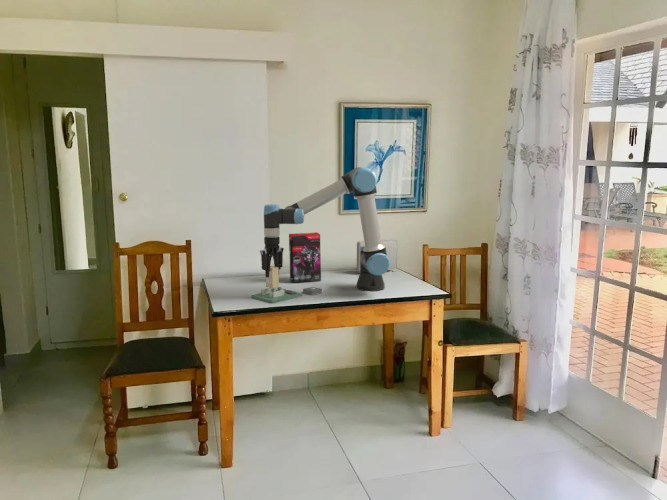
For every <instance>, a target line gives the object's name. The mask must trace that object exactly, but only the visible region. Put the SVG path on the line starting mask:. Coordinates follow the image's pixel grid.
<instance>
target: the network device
mask: <svg viewBox="0 0 667 500" xmlns="http://www.w3.org/2000/svg"><path fill="white" fill-rule="evenodd" d="M381 241H382V244H383V245H385V247H386V253H387V256H388V258H389V260H390V267H389V269H388V271H387V272H386V273H387V274H392V273H393V271H392V270H396V269H397V267H398V266H397V264H398V240H397V239H395V238H387V239H384V238H383V239H381ZM356 242H357V243H356V271H358V272H360V248H361V246H365V242H364V240H359V241H356ZM383 275H386V274H385V273H384V274H383Z"/></svg>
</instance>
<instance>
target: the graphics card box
mask: <svg viewBox="0 0 667 500" xmlns="http://www.w3.org/2000/svg"><path fill="white" fill-rule="evenodd" d="M288 248H289V249H288V250H289V280H290V282H291V283H292V284H293V283H294V284H296V283H305V282H319V281H320V282H321V281H322V267H321V266H322V265H321V264H322V262H321V234H320V233H319V232H317V231H316V232H315V231H314V232H299V233H295V232H294V233H288Z"/></svg>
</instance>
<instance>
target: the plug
mask: <svg viewBox="0 0 667 500" xmlns="http://www.w3.org/2000/svg"><path fill="white" fill-rule="evenodd" d="M270 271H271V284H268V283H266V282H265V288H276V289H278V287H280V285H279V282H280V277H279V276H280V269H279V267H275V266H274V265H270Z"/></svg>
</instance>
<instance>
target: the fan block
mask: <svg viewBox="0 0 667 500" xmlns="http://www.w3.org/2000/svg"><path fill="white" fill-rule="evenodd" d="M302 293H304V294H306V295H311V296H313V295H314V296H315V295H318V294H321V293H323V289H322V288H320V287H316V286H310V287H306V288H305V287H304V288H302Z"/></svg>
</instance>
